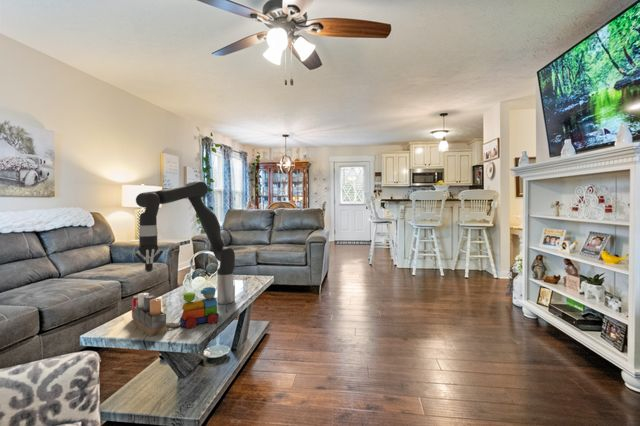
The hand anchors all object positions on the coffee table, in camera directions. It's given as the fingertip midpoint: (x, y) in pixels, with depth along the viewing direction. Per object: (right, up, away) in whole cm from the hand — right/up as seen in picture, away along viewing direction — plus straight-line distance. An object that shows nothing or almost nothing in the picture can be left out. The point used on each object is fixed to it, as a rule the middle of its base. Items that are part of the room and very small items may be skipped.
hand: (148, 271), depth 150 cm
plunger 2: (+6, -19, -5) cm, 20 cm away
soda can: (-11, -27, +13) cm, 32 cm away
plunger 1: (-6, -19, +5) cm, 20 cm away
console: (0, -27, +1) cm, 27 cm away
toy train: (+18, -28, +6) cm, 33 cm away
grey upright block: (0, -19, 0) cm, 19 cm away
